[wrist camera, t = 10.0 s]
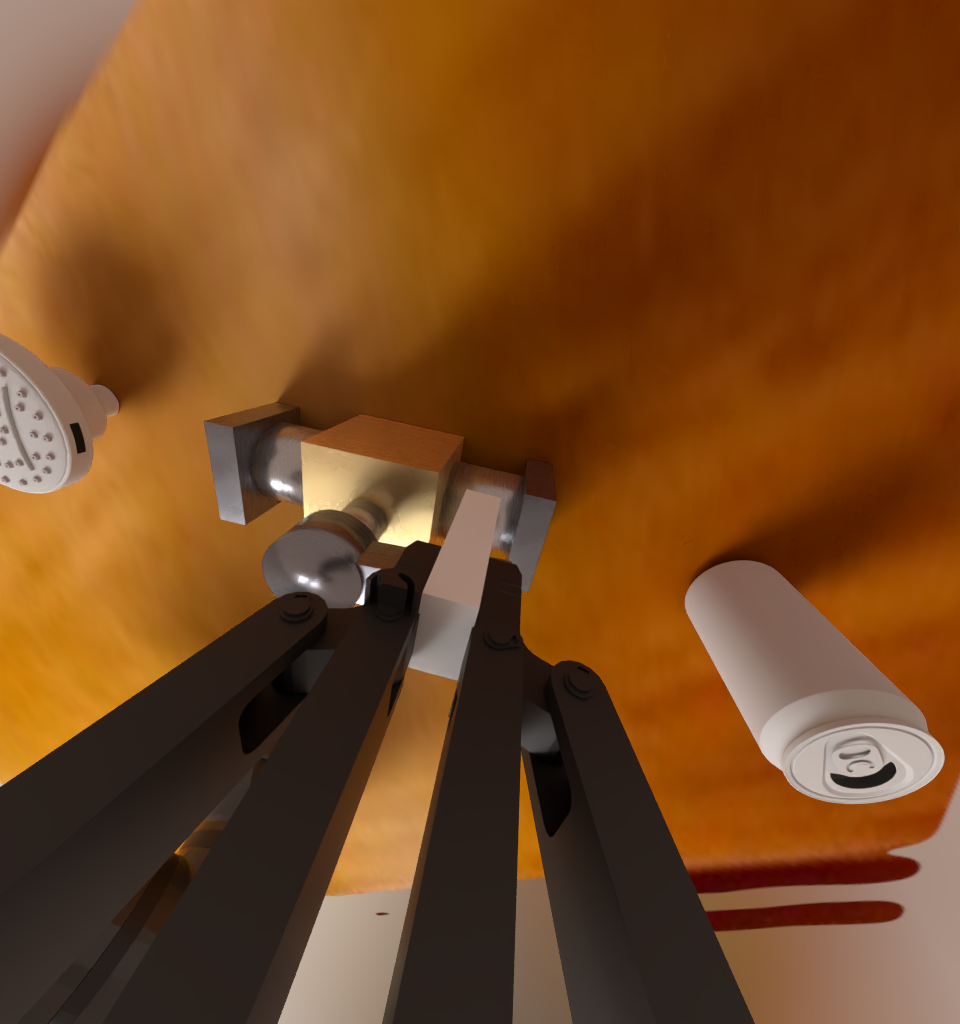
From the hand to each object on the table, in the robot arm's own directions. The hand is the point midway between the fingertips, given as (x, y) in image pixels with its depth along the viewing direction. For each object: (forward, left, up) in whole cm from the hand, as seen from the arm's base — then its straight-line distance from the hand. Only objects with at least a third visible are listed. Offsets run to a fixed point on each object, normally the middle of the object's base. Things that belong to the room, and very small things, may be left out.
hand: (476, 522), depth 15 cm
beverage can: (-17, -9, -10) cm, 22 cm away
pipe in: (+6, +11, -10) cm, 16 cm away
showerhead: (+18, +23, -10) cm, 31 cm away
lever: (0, +4, 0) cm, 4 cm away
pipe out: (-3, +2, -10) cm, 10 cm away
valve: (+2, +6, -10) cm, 12 cm away
